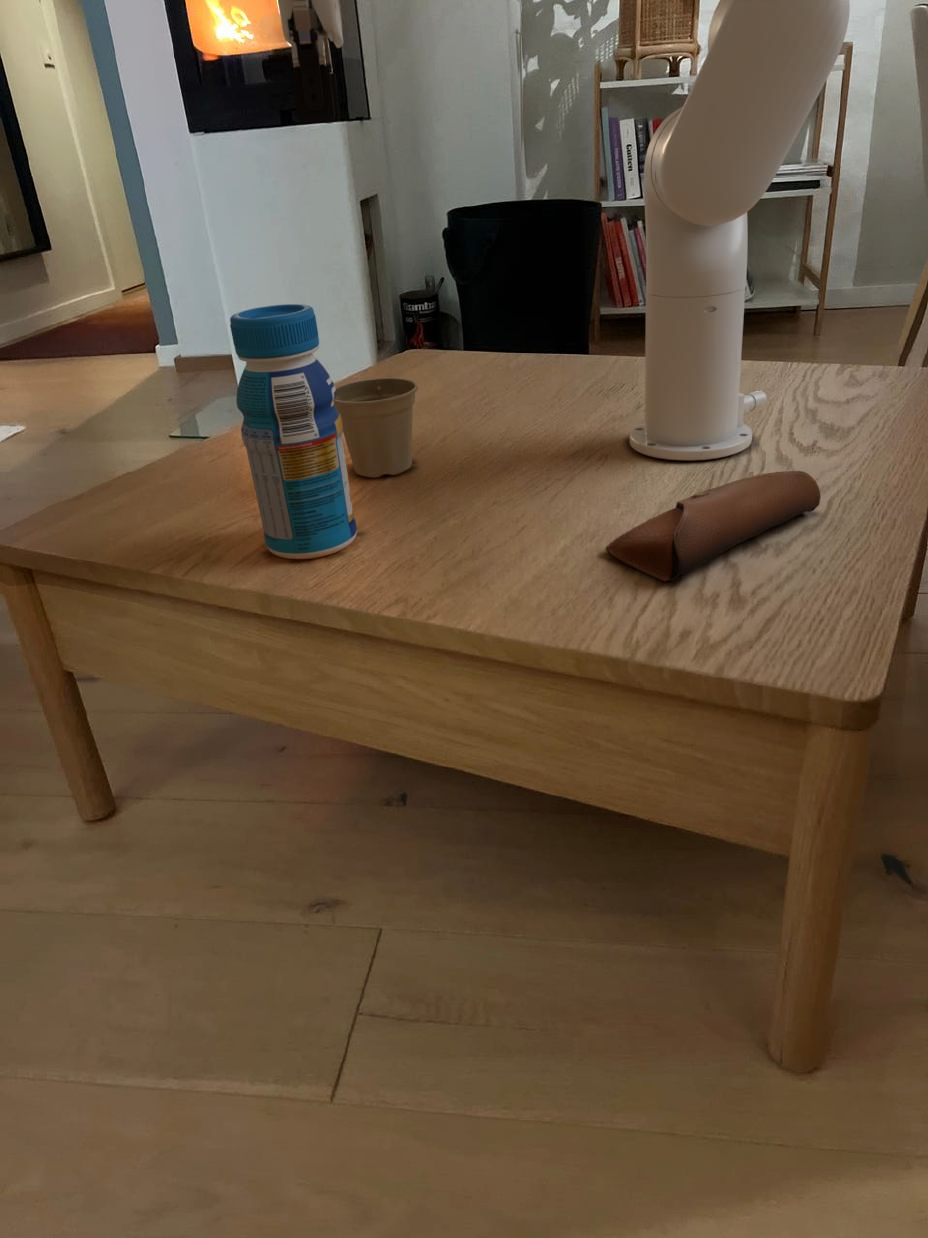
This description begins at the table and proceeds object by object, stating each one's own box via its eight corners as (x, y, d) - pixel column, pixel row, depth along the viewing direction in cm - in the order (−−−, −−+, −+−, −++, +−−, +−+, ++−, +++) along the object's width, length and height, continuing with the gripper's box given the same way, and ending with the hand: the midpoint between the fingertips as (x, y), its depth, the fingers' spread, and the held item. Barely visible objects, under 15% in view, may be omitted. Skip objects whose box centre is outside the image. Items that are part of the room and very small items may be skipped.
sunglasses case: (736, 487, 82) (773, 433, 77) (791, 541, 80) (833, 488, 75) (597, 550, 73) (628, 493, 68) (654, 613, 70) (691, 559, 65)
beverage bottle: (247, 558, 79) (195, 322, 70) (295, 521, 86) (255, 302, 76) (331, 566, 76) (290, 320, 67) (375, 527, 83) (343, 299, 73)
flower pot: (414, 483, 92) (404, 399, 88) (327, 484, 94) (314, 402, 90) (435, 453, 100) (427, 375, 96) (355, 455, 102) (343, 378, 98)
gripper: (331, -141, 68) (358, 117, 77) (341, -91, 84) (363, 119, 92) (232, -135, 68) (269, 123, 76) (260, -86, 83) (289, 125, 92)
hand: (320, 121), depth 84 cm, fingers open, 9 cm apart
